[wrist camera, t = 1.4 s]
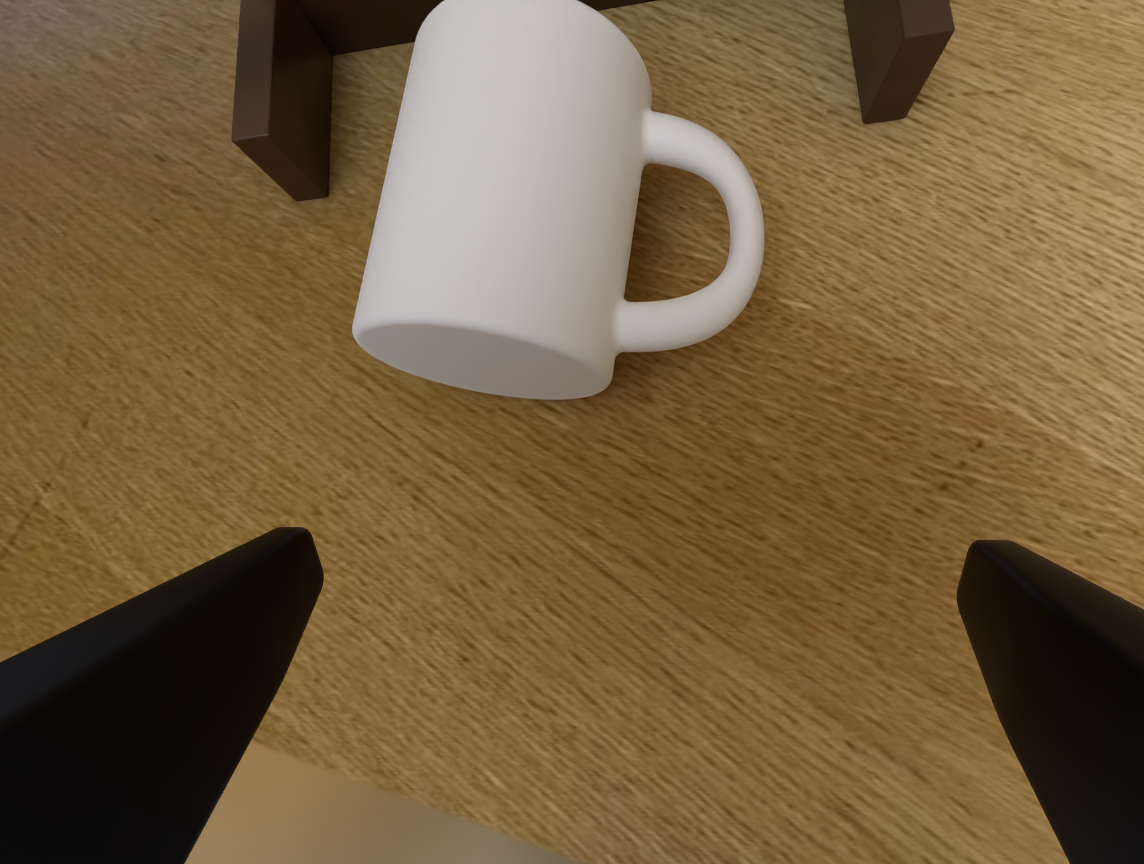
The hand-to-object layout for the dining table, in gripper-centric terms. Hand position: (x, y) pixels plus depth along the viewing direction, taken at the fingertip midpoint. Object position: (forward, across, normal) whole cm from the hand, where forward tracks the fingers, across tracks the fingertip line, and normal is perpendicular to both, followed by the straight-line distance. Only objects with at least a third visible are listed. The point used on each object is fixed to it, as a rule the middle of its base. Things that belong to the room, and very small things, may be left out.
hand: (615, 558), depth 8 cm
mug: (+17, +2, 0) cm, 17 cm away
